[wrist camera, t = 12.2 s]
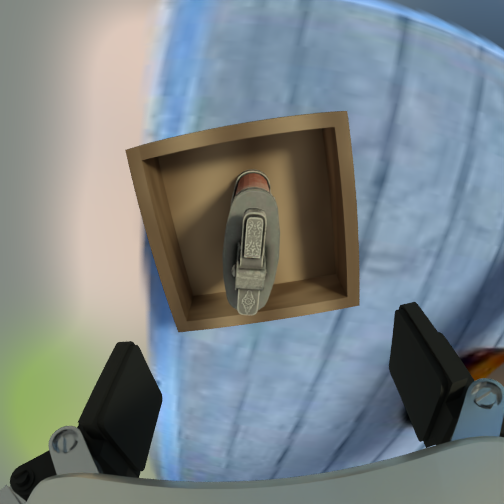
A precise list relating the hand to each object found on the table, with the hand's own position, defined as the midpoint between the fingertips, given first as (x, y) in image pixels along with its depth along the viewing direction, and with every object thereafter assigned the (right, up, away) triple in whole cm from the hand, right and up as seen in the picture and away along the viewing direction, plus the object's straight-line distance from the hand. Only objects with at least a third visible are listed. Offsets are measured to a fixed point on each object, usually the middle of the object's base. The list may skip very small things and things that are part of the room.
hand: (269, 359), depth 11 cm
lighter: (-1, +7, +16) cm, 17 cm away
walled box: (-1, +7, +16) cm, 18 cm away
